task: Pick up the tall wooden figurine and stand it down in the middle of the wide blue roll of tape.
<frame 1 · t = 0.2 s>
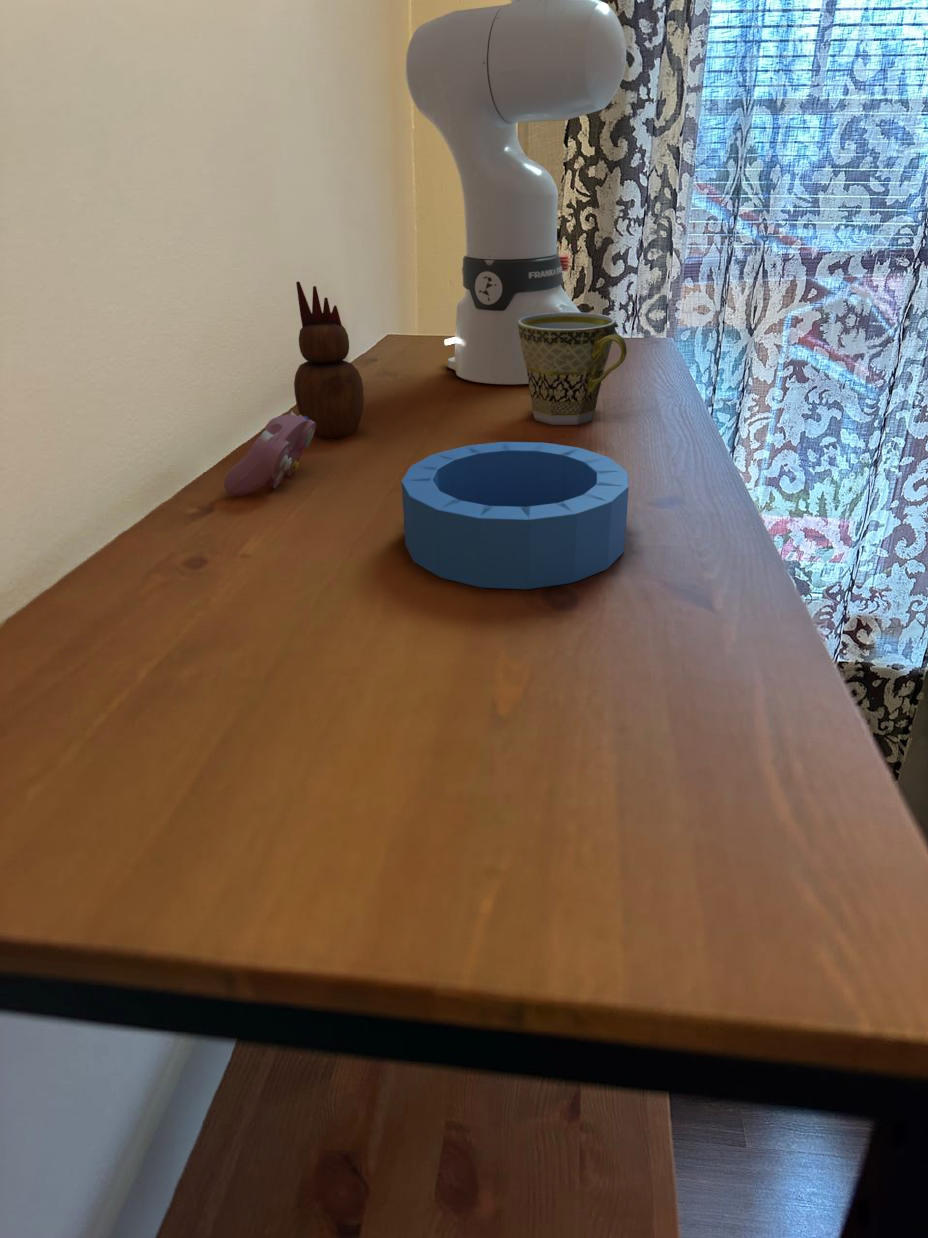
wooden figurine: (333, 437, 86), on the table
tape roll: (514, 539, 62), on the table
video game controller: (277, 482, 75), on the table
ceramic cup: (573, 421, 89), on the table
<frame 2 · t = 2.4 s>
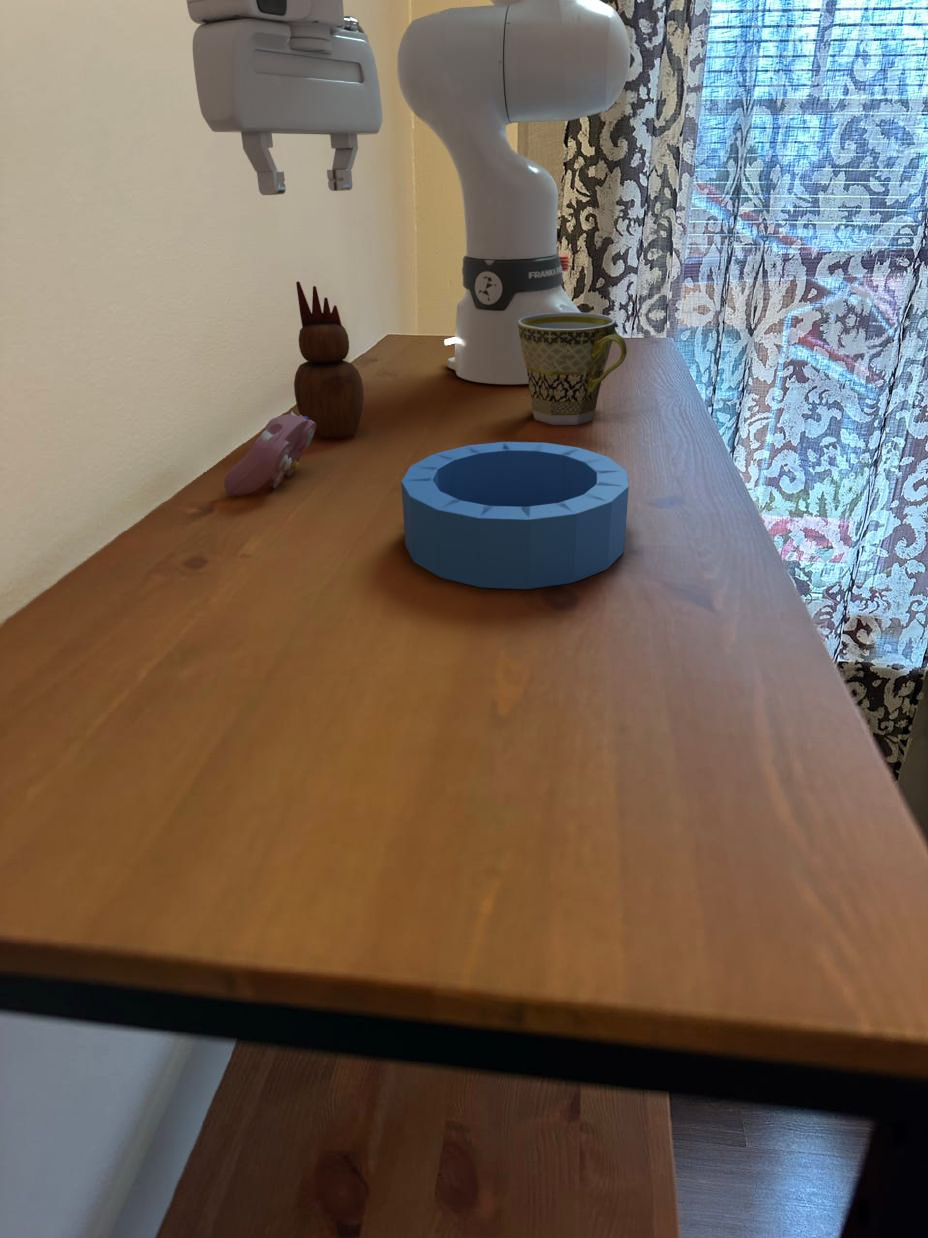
hand: (308, 192, 75), 22 cm above the table, tool pointing down, fingers open, 8 cm apart
nothing on the table moved.
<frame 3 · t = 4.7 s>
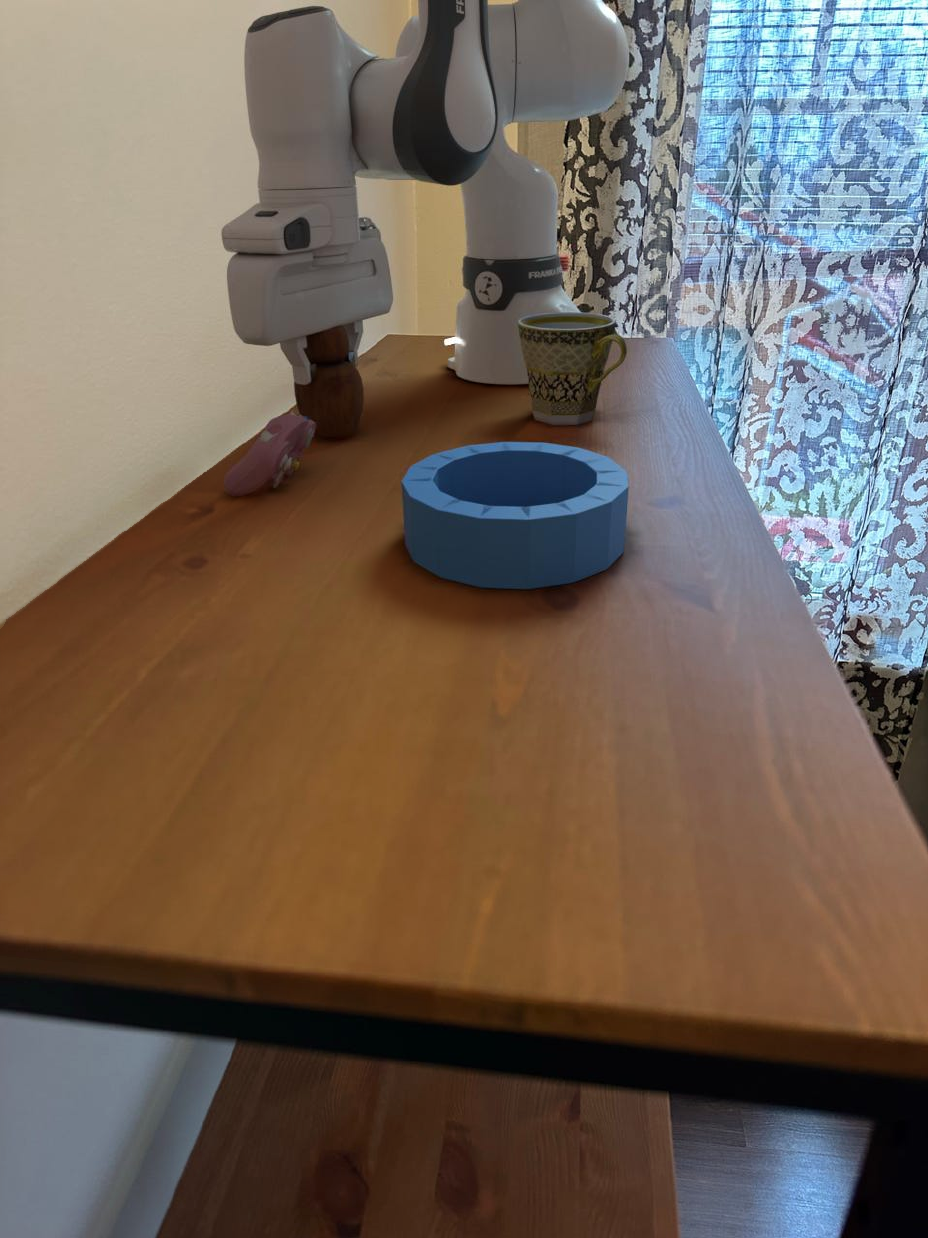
hand: (327, 375, 83), 6 cm above the table, tool pointing down, fingers closed on wooden figurine, 5 cm apart
wooden figurine: (333, 437, 86), on the table, touching gripper
everything else where it was.
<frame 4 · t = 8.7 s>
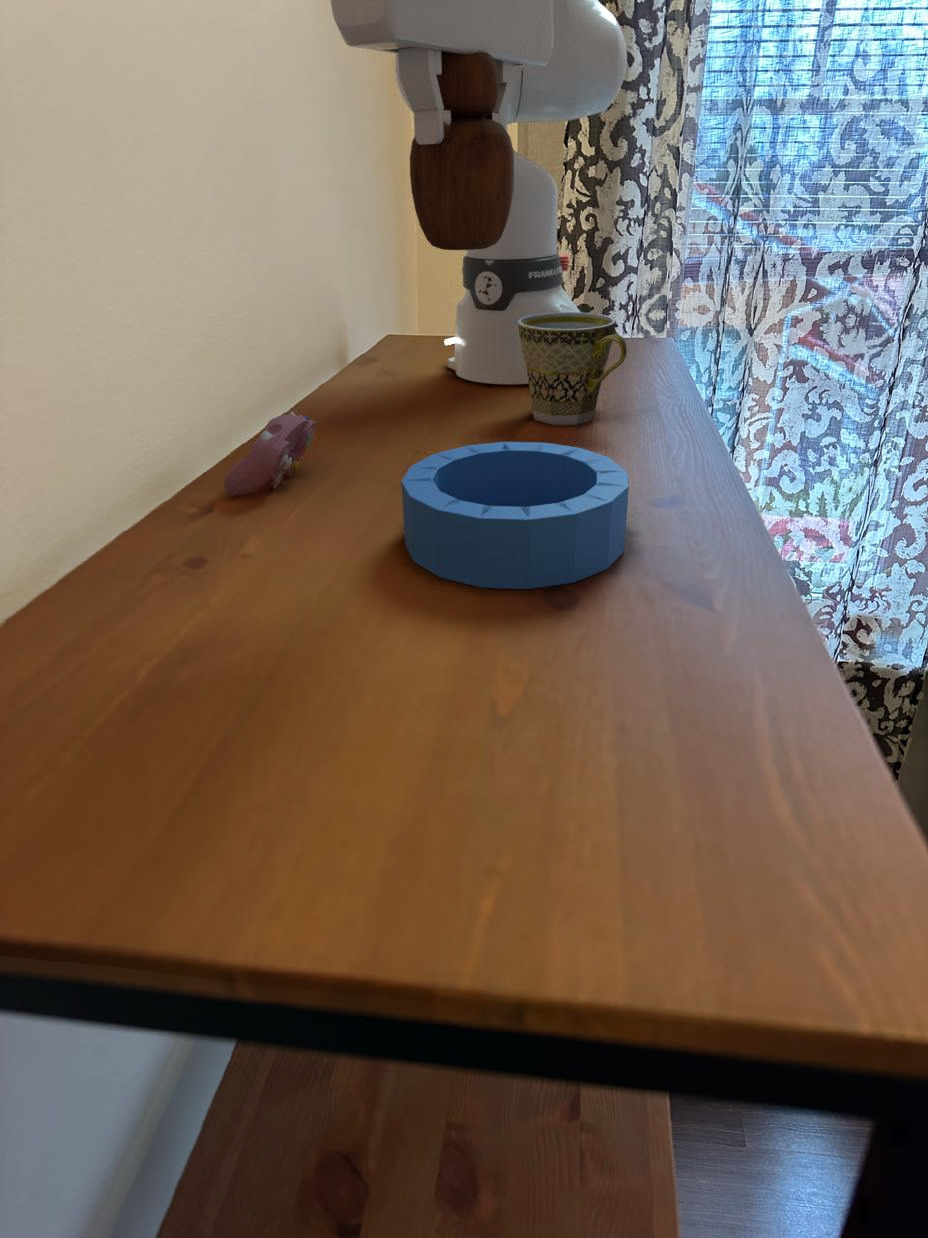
hand: (460, 144, 53), 26 cm above the table, tool pointing down, fingers closed on wooden figurine, 5 cm apart
wooden figurine: (464, 251, 57), point 19 cm above the table, touching gripper
everything else where it was.
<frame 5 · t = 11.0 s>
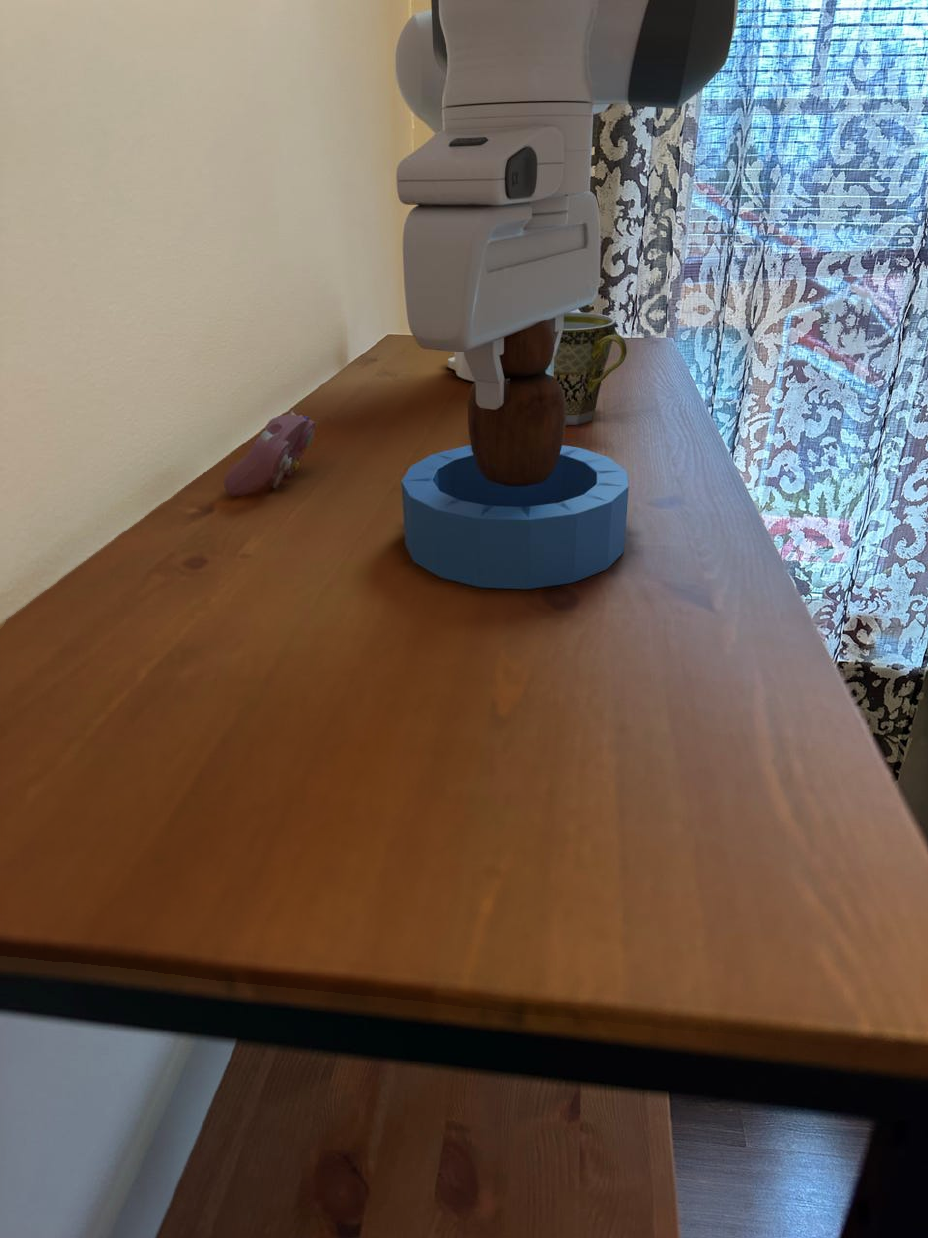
hand: (516, 394, 57), 11 cm above the table, tool pointing down, fingers closed on wooden figurine, 5 cm apart
wooden figurine: (516, 482, 60), point 4 cm above the table, touching gripper
everything else where it was.
when the fingers open (6 cm above the table, at t = 12.9 s): wooden figurine stays where it is, resting in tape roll.
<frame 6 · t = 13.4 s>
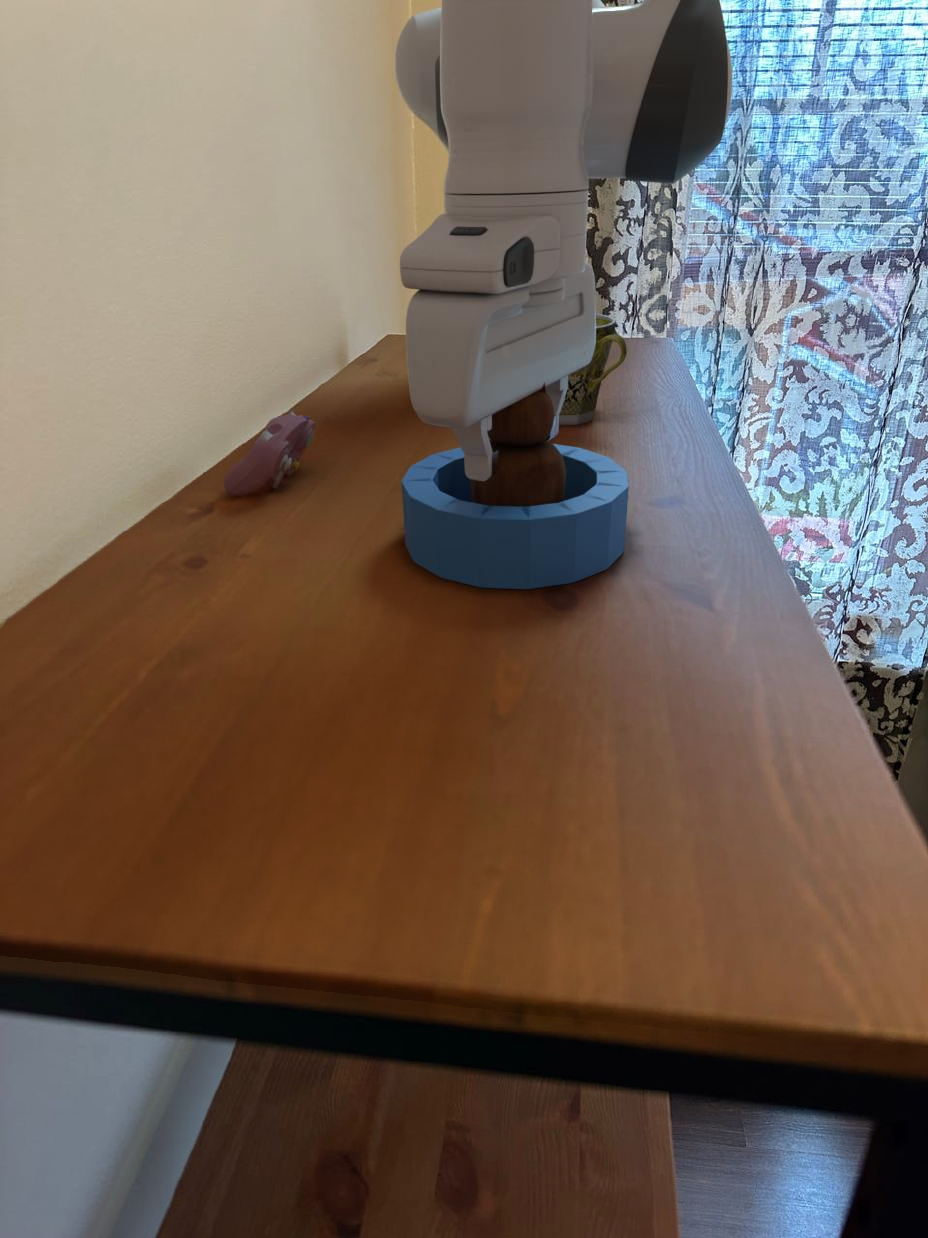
hand: (514, 456, 59), 6 cm above the table, tool pointing down, fingers open, 8 cm apart
wooden figurine: (517, 541, 62), resting in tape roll
everything else where it was.
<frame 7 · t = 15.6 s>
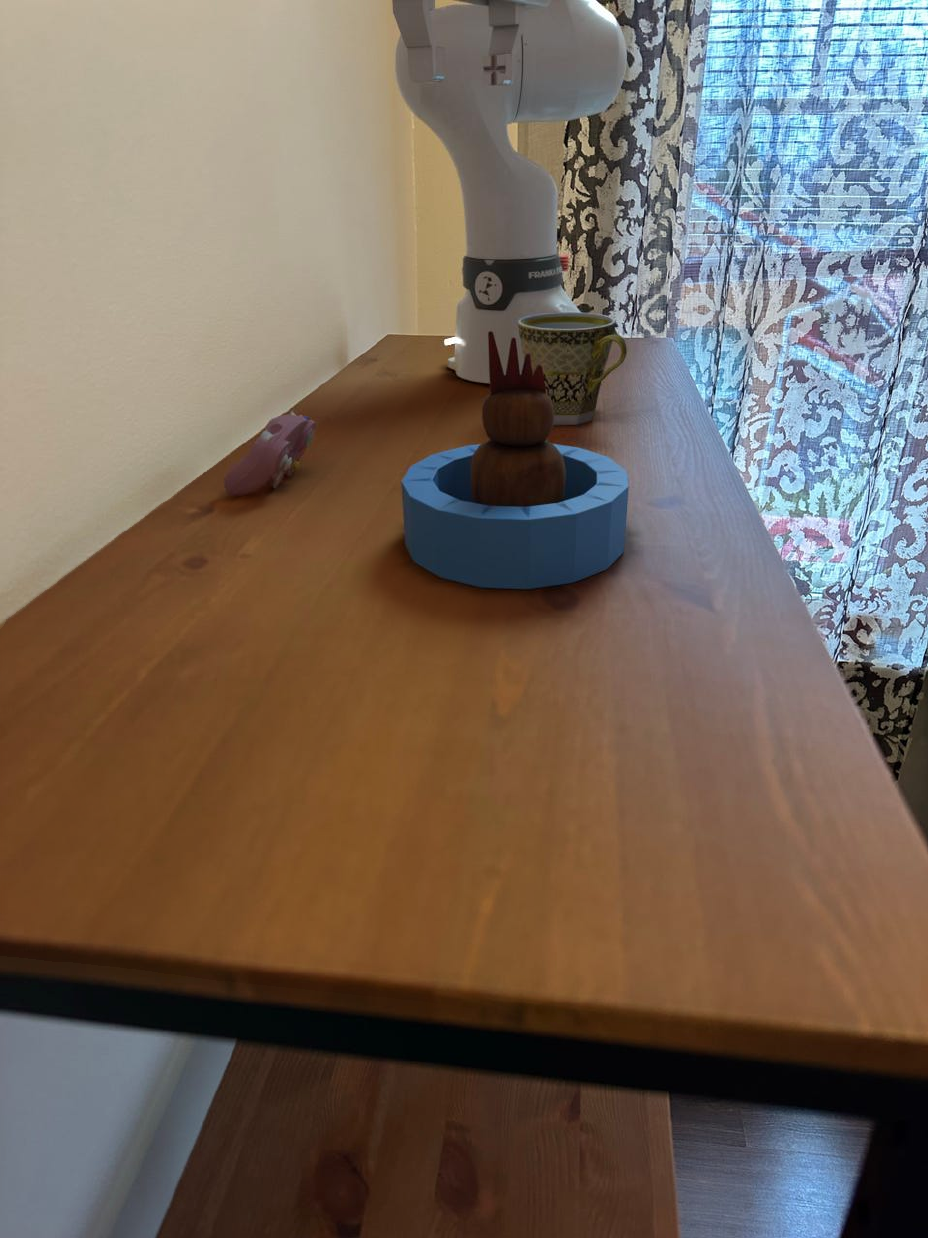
hand: (465, 84, 55), 29 cm above the table, tool pointing down, fingers open, 8 cm apart
nothing on the table moved.
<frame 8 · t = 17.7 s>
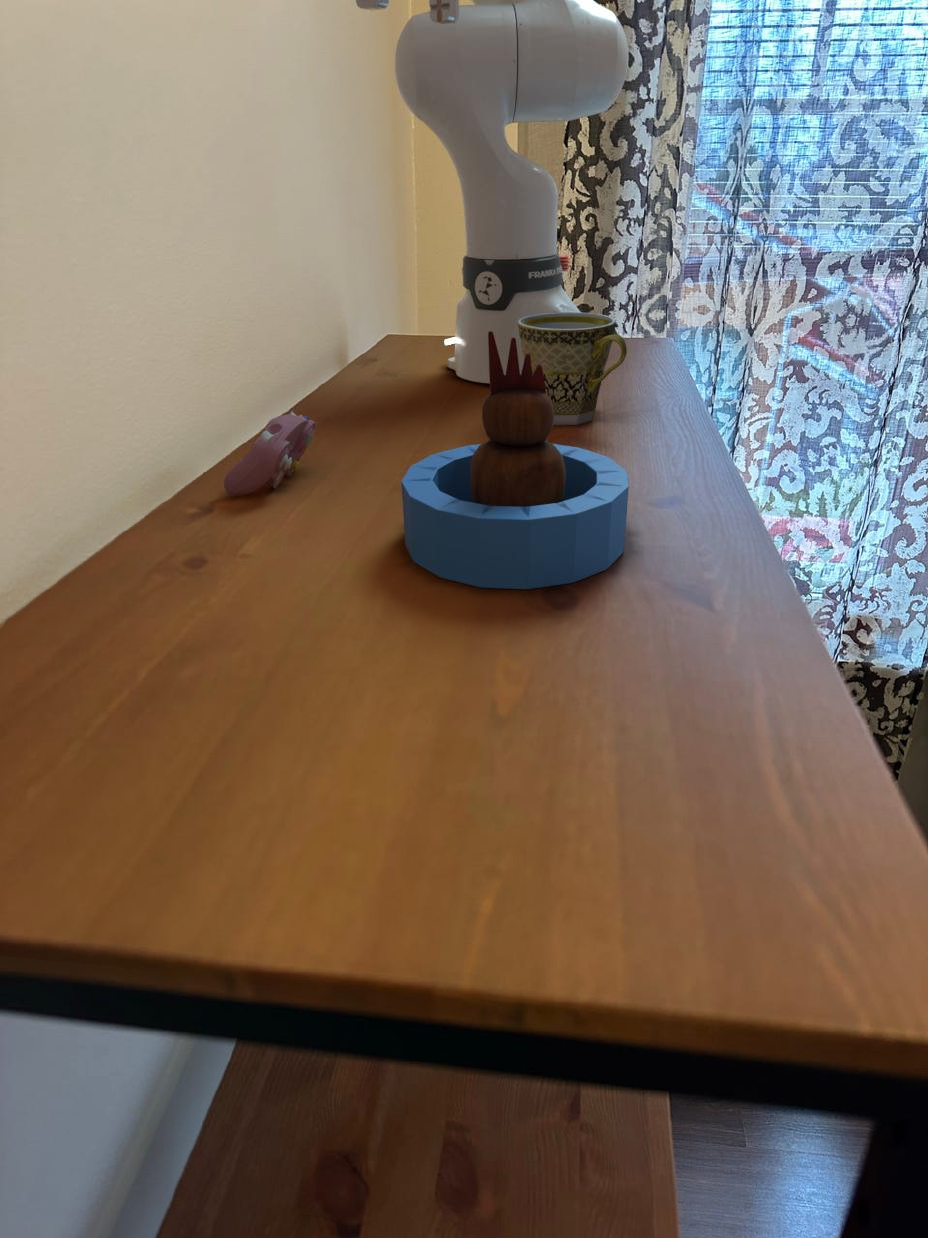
hand: (410, 16, 61), 34 cm above the table, tool pointing down, fingers open, 8 cm apart
nothing on the table moved.
at the end: wooden figurine 0.2 cm off-centre on the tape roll, point 0.0 cm above the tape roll's base; wooden figurine tilted 0°; the gripper is holding nothing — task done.
